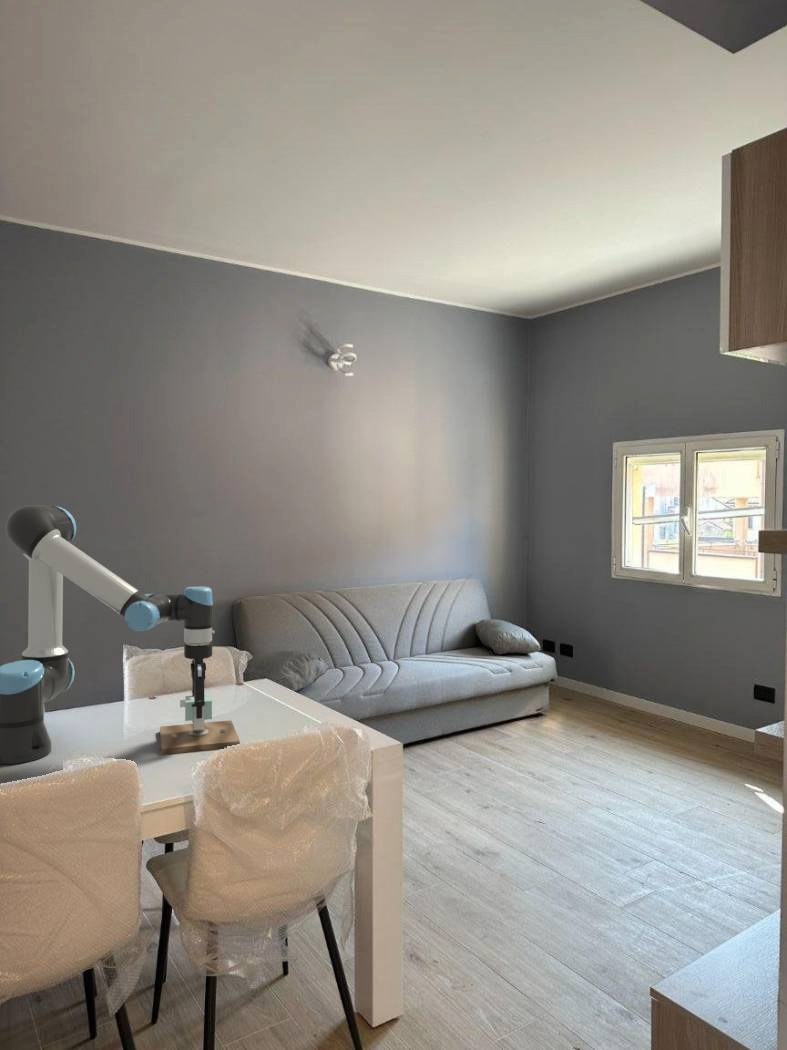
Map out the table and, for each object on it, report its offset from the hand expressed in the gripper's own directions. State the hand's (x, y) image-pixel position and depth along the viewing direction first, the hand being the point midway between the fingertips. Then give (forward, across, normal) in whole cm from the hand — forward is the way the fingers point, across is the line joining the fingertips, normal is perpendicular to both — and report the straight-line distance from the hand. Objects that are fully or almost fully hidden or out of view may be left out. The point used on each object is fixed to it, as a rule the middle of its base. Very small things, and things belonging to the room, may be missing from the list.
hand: (198, 725), depth 201 cm
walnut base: (+4, 0, 0) cm, 4 cm away
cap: (-2, 0, +1) cm, 2 cm away
